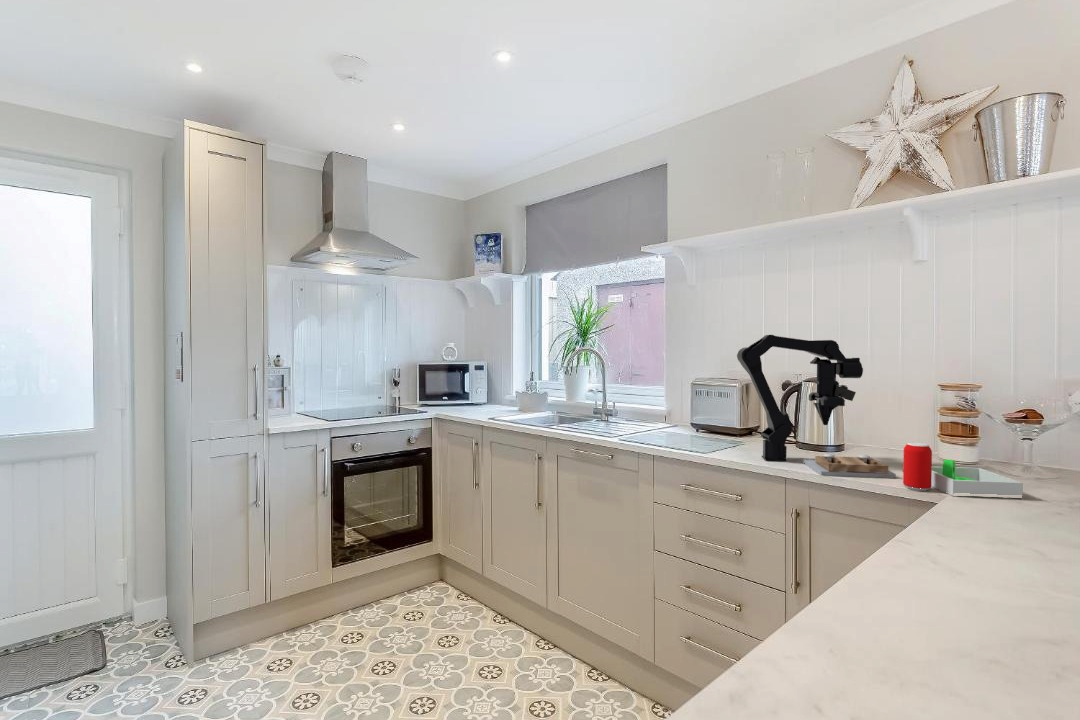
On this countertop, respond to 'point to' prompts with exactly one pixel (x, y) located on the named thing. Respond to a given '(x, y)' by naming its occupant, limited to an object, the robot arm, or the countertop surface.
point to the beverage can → (917, 466)
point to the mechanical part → (951, 470)
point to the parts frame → (975, 482)
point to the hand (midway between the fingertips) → (825, 424)
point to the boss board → (825, 472)
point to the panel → (851, 464)
